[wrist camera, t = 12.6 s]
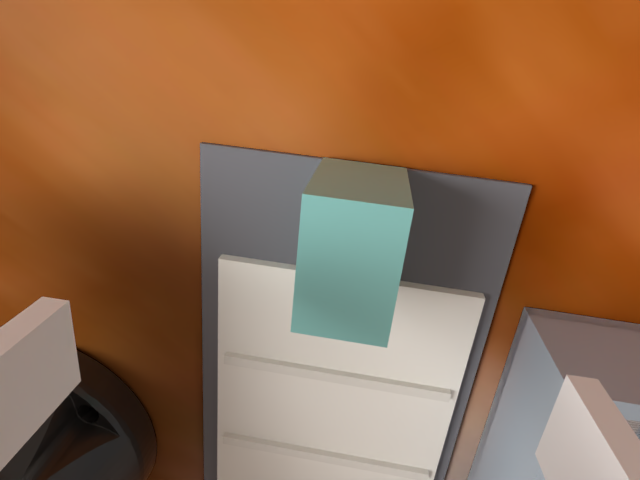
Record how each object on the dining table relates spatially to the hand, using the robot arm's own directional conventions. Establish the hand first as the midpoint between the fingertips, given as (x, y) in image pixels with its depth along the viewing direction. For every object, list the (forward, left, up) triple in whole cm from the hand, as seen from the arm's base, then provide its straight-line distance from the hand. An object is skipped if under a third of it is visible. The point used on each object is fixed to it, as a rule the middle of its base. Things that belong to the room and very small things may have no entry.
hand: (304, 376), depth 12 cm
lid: (+1, -9, -12) cm, 15 cm away
